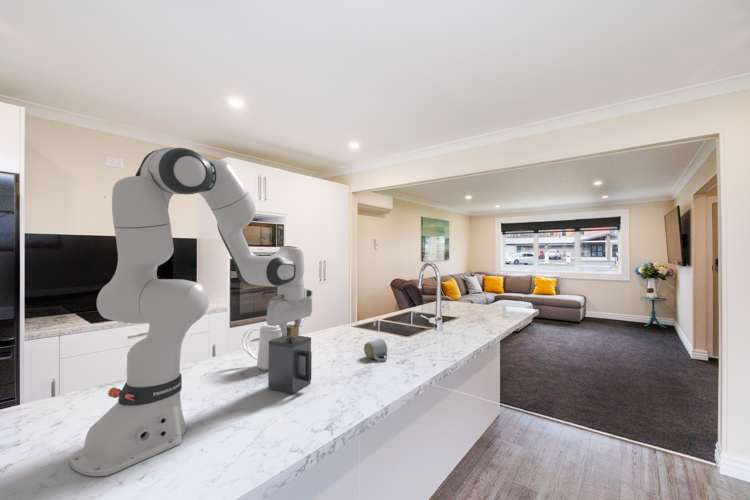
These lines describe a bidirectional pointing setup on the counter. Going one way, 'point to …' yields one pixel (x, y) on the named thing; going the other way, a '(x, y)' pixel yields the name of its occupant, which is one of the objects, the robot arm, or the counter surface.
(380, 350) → the ceramic mug
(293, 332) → the plunger
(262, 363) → the coffeepot
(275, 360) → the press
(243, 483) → the counter surface
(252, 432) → the counter surface
